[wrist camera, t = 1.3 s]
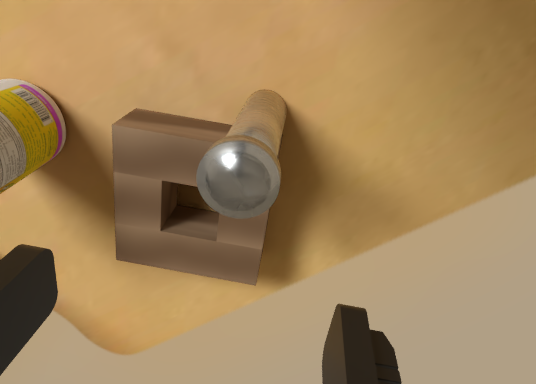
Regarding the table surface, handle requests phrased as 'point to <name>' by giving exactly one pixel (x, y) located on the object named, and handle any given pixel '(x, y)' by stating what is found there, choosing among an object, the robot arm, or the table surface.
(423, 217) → the table surface
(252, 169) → the pin
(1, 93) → the supplement bottle
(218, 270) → the socket block
